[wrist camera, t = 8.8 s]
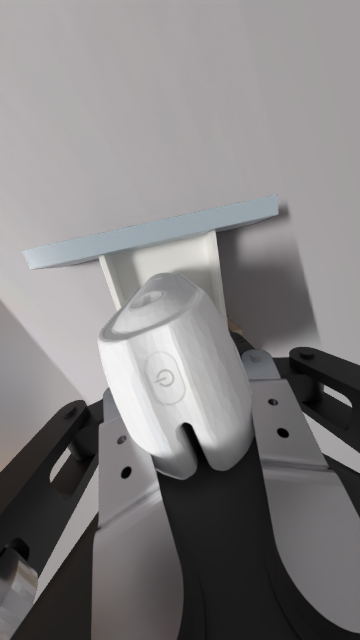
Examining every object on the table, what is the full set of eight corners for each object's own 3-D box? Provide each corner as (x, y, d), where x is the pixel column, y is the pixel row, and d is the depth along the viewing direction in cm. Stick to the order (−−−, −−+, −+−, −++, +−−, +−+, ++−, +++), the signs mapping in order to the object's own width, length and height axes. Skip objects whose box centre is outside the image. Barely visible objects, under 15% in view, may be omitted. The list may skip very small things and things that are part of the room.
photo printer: (130, 282, 15) (5, 377, 3) (180, 262, 14) (259, 280, 3) (175, 380, 18) (201, 603, 6) (216, 365, 18) (318, 565, 6)
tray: (260, 364, 21) (282, 387, 17) (117, 399, 21) (107, 430, 17) (249, 209, 16) (277, 194, 12) (56, 252, 15) (22, 250, 12)
